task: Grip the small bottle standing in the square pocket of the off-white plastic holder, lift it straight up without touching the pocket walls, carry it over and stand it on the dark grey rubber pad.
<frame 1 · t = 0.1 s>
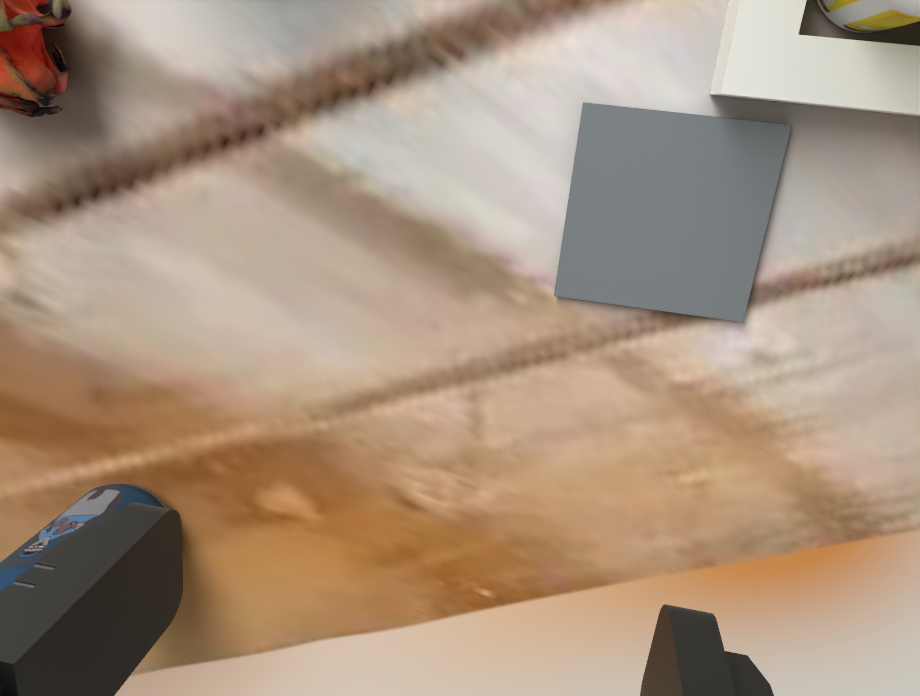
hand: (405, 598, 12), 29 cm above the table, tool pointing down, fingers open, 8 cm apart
rubber pad: (664, 214, 37), on the table
soda can: (137, 518, 49), on the table
dragon fruit: (23, 23, 39), on the table
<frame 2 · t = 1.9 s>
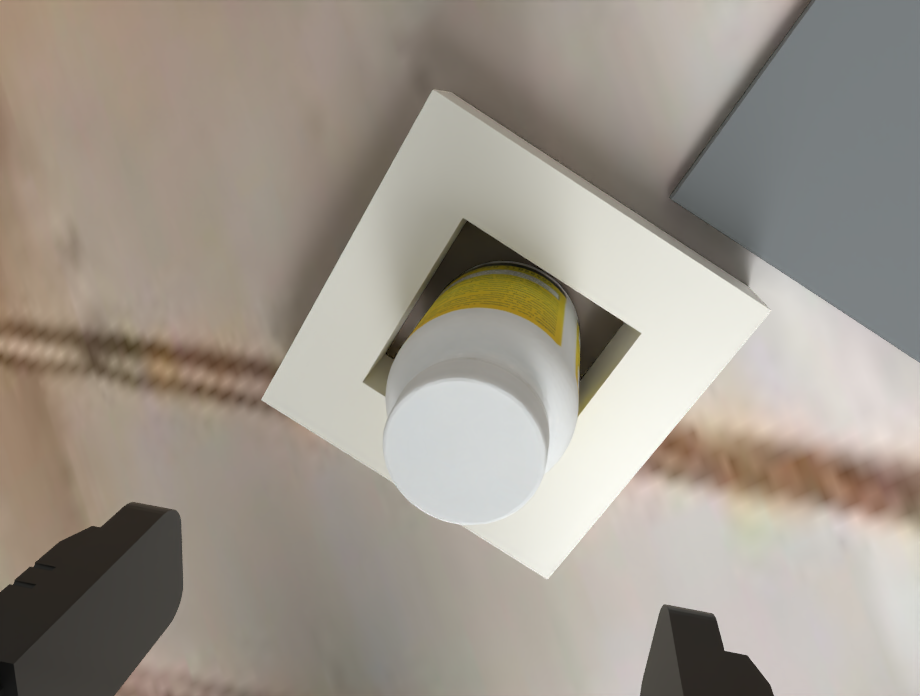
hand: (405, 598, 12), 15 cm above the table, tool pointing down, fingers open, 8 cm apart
supplement bottle: (505, 330, 26), resting in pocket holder
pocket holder: (504, 331, 26), on the table
rubber pad: (903, 147, 22), on the table
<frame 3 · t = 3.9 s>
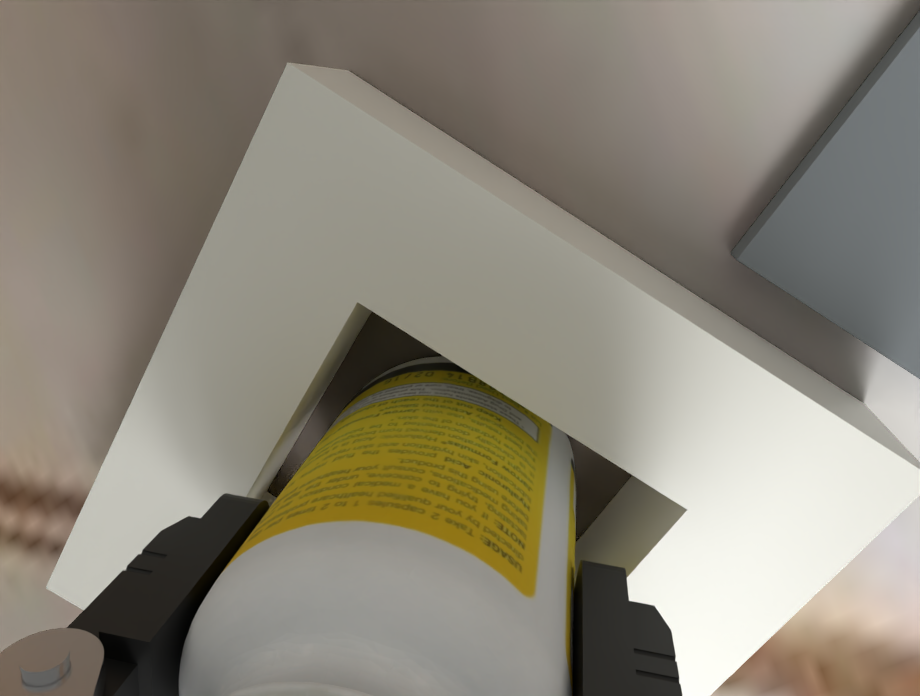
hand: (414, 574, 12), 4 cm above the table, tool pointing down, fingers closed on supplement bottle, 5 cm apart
supplement bottle: (455, 459, 16), resting in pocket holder, touching gripper
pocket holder: (453, 464, 16), on the table
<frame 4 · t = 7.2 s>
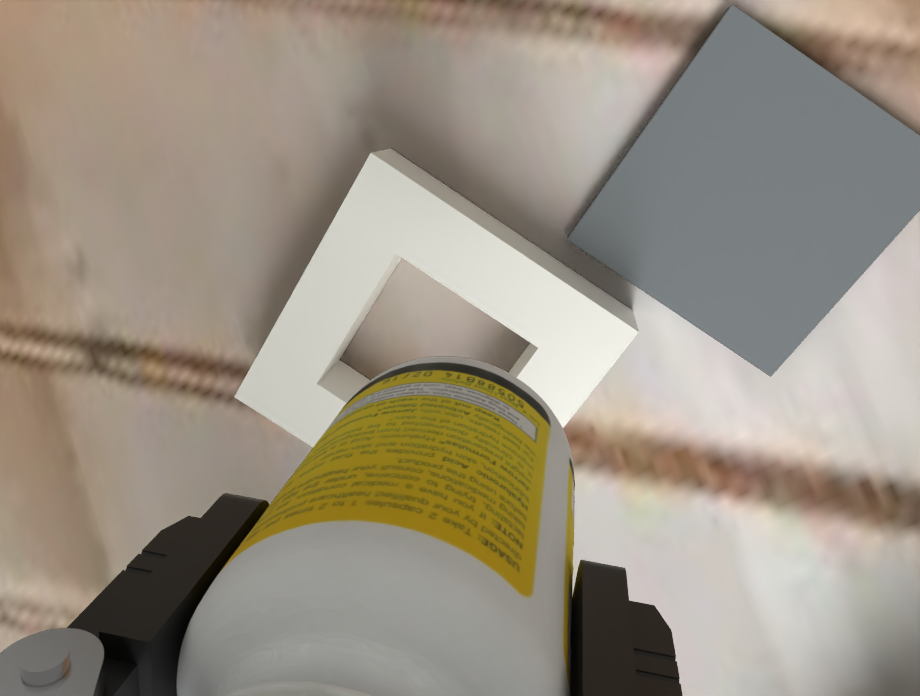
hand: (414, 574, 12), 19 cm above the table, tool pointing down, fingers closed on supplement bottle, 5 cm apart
supplement bottle: (453, 459, 16), point 15 cm above the table, touching gripper
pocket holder: (437, 343, 31), on the table
rubber pad: (749, 202, 28), on the table
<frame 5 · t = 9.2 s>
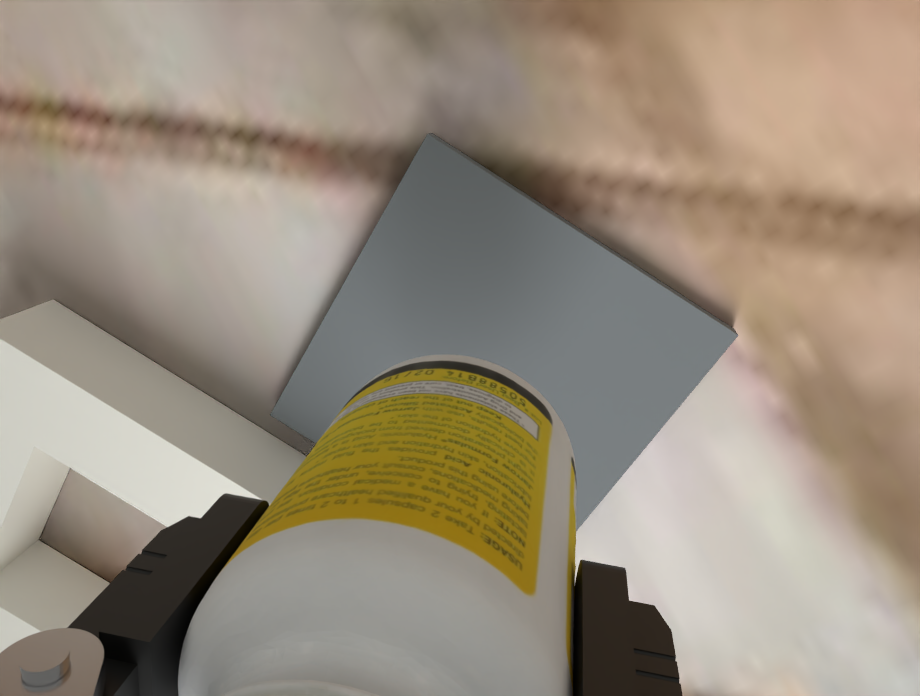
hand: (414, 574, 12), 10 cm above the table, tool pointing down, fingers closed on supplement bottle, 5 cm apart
supplement bottle: (455, 458, 16), point 6 cm above the table, touching gripper
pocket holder: (146, 525, 25), on the table
rubber pad: (489, 371, 22), on the table
when the fingers open (6 cm above the table, at t = 10.9 s): supplement bottle drops 1 cm, resting on rubber pad.
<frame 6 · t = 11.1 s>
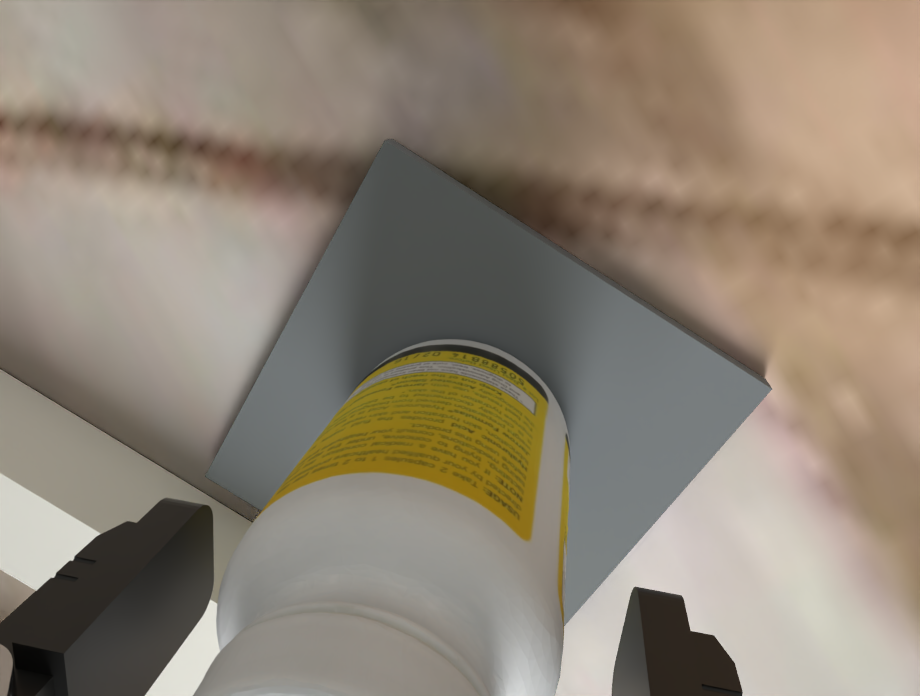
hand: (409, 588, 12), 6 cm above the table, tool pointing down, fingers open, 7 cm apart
supplement bottle: (458, 436, 17), resting on rubber pad
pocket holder: (70, 597, 22), on the table
rubber pad: (466, 426, 18), on the table
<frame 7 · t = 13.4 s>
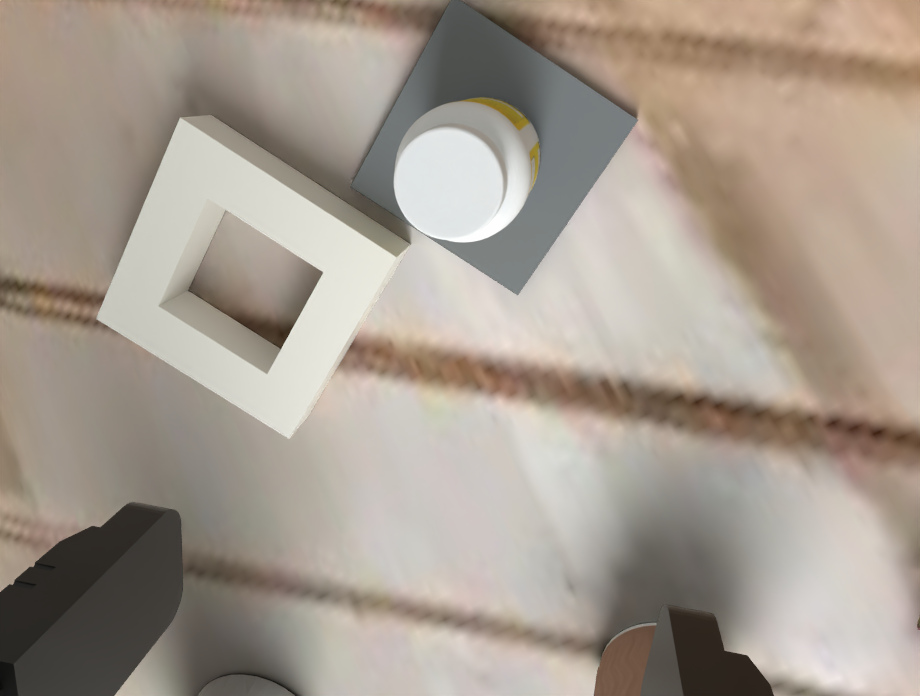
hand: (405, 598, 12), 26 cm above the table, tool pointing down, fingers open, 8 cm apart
supplement bottle: (485, 156, 34), resting on rubber pad
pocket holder: (263, 274, 39), on the table
rubber pad: (489, 153, 35), on the table
coffee cup: (657, 664, 44), on the table
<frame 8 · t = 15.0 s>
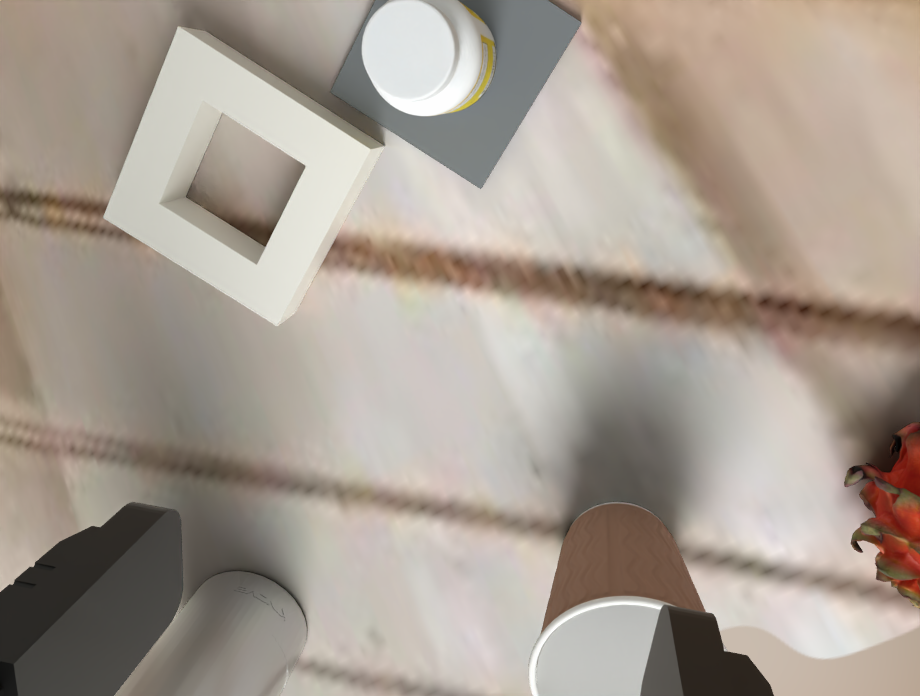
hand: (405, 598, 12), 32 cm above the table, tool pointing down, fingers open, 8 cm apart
supplement bottle: (449, 60, 39), resting on rubber pad
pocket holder: (253, 179, 43), on the table
rubber pad: (452, 59, 39), on the table
dragon fruit: (908, 480, 43), on the table
coffee cup: (617, 544, 48), on the table
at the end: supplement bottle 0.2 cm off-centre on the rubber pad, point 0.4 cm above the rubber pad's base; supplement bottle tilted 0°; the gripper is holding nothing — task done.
